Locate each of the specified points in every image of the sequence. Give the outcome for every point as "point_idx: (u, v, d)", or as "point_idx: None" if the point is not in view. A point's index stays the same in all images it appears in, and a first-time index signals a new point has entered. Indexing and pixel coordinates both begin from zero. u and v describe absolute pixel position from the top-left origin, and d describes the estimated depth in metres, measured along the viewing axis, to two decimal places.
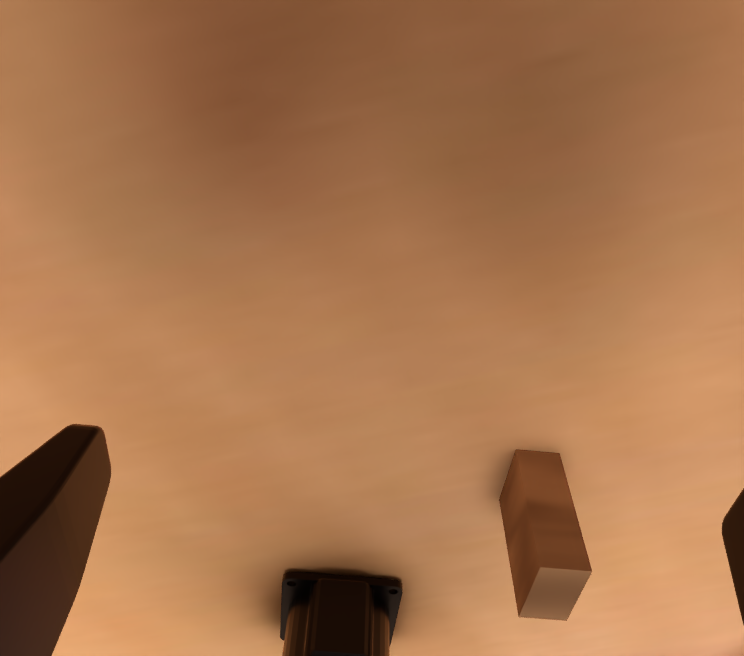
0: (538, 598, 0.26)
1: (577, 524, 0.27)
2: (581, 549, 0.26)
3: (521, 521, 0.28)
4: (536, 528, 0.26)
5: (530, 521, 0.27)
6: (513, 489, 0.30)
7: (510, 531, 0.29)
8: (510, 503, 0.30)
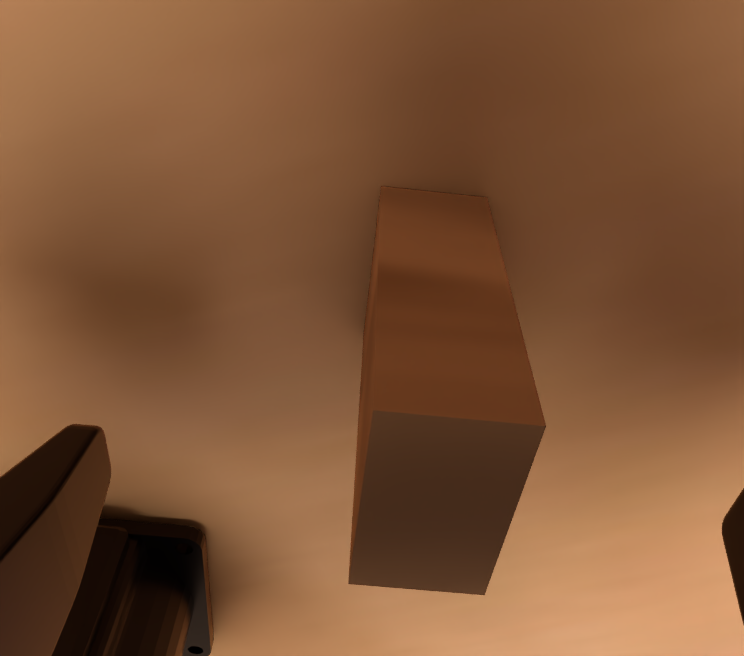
0: (390, 524, 0.09)
1: (513, 316, 0.09)
2: (517, 370, 0.08)
3: (370, 331, 0.10)
4: (390, 320, 0.09)
5: (376, 307, 0.09)
6: (372, 279, 0.12)
7: (362, 380, 0.12)
8: (367, 319, 0.12)
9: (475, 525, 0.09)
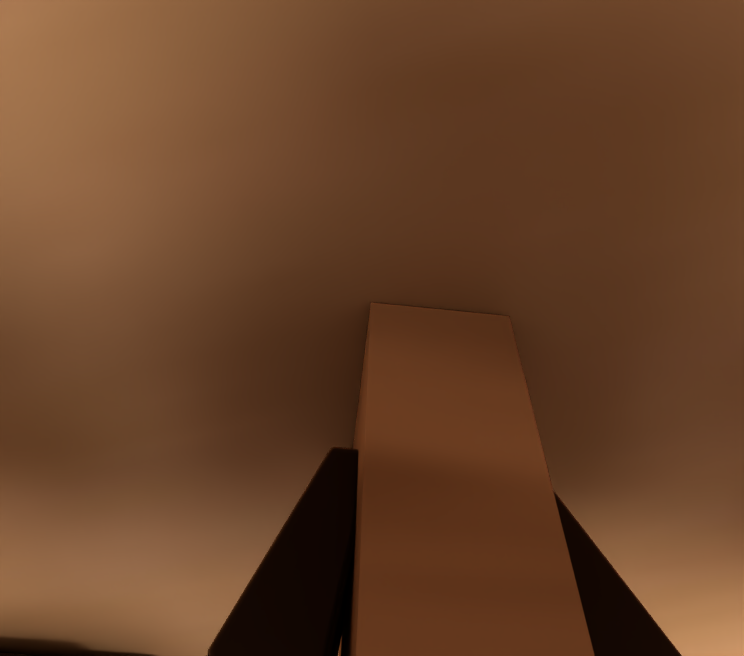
0: None
1: (560, 547, 0.06)
2: None
3: None
4: (380, 565, 0.06)
5: (361, 537, 0.06)
6: (359, 427, 0.09)
7: None
8: None
9: None
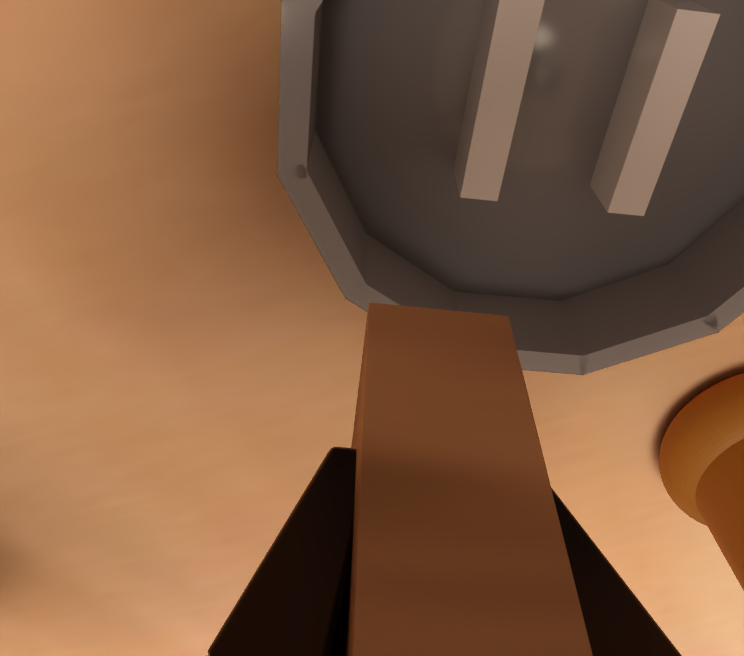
0: None
1: (559, 549, 0.06)
2: None
3: None
4: (377, 568, 0.06)
5: (358, 539, 0.06)
6: (357, 428, 0.09)
7: None
8: None
9: None
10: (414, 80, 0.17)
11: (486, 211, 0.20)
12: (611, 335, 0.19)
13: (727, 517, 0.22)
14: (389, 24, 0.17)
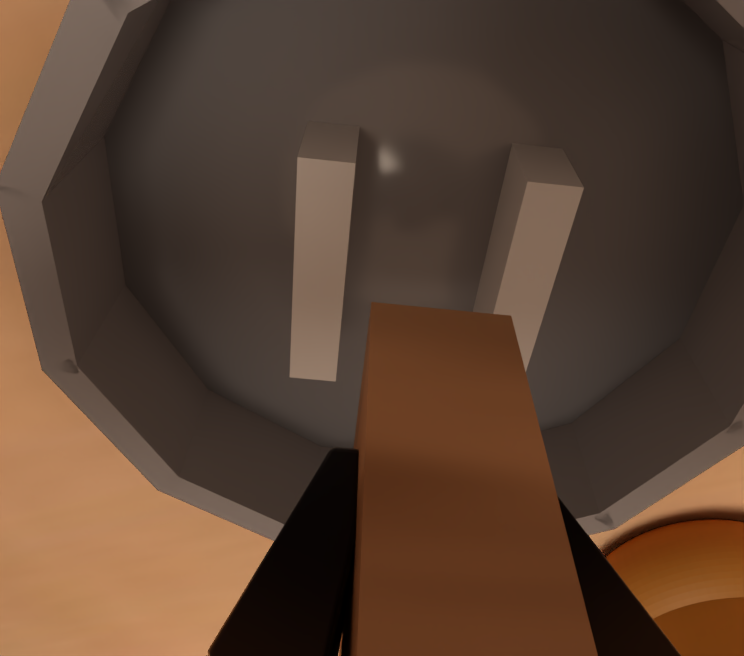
0: None
1: (564, 550, 0.06)
2: None
3: None
4: (380, 569, 0.06)
5: (362, 540, 0.06)
6: (359, 428, 0.09)
7: None
8: None
9: None
10: (234, 233, 0.14)
11: (345, 368, 0.16)
12: None
13: None
14: (192, 173, 0.13)
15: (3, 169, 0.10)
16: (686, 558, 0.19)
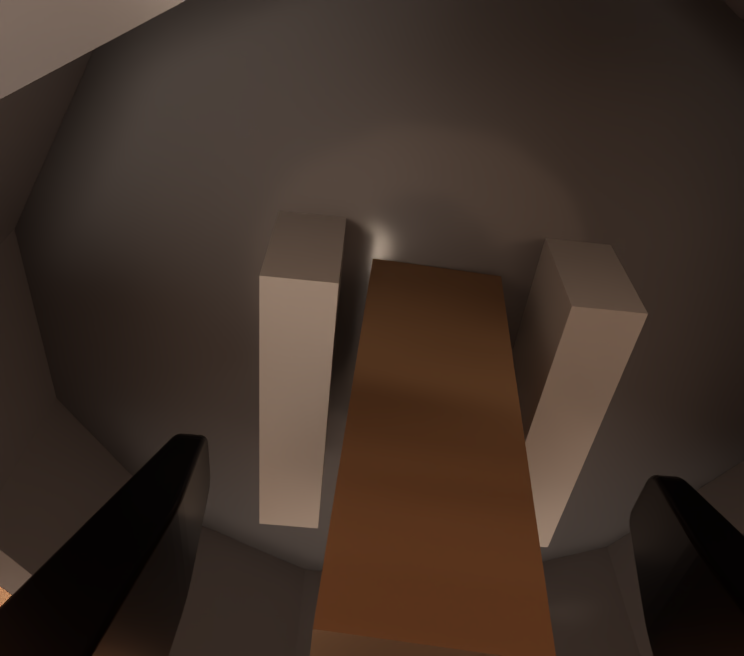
0: None
1: (522, 463, 0.07)
2: (522, 558, 0.06)
3: None
4: (357, 467, 0.07)
5: None
6: None
7: None
8: None
9: None
10: (189, 342, 0.11)
11: (332, 489, 0.13)
12: None
13: None
14: (132, 273, 0.10)
15: None
16: None
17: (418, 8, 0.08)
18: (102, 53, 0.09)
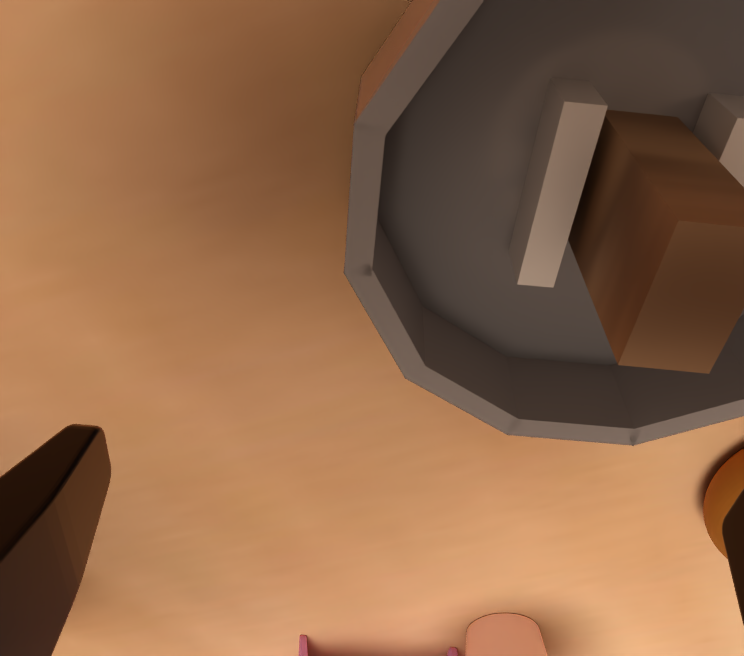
0: (662, 312, 0.13)
1: (735, 181, 0.14)
2: None
3: (619, 201, 0.15)
4: (658, 180, 0.14)
5: (645, 173, 0.14)
6: (596, 175, 0.17)
7: (590, 248, 0.17)
8: (588, 207, 0.17)
9: (719, 312, 0.13)
10: (473, 171, 0.18)
11: (539, 286, 0.20)
12: (661, 408, 0.20)
13: None
14: (450, 122, 0.17)
15: (364, 110, 0.14)
16: None
17: None
18: None
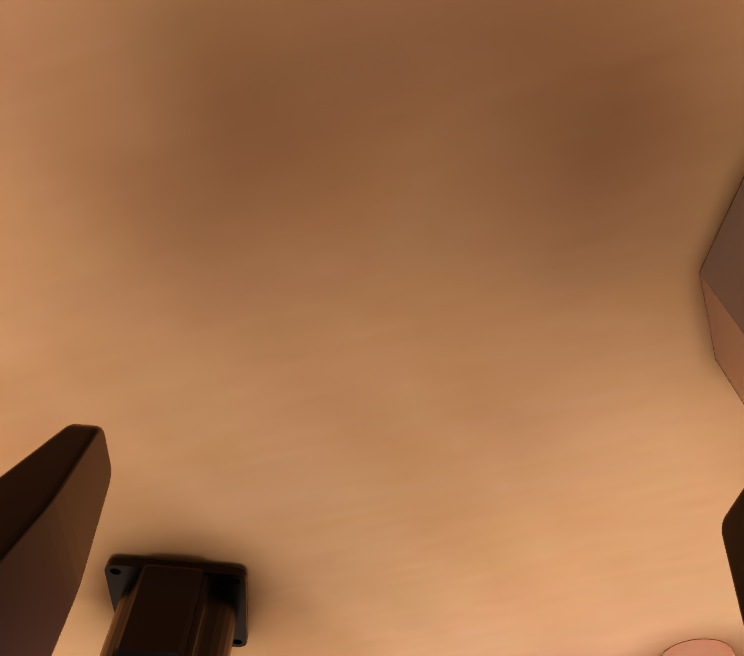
0: None
1: None
2: None
3: None
4: None
5: None
6: None
7: None
8: None
9: None
10: None
11: None
12: None
13: None
14: None
15: None
16: None
17: None
18: None
